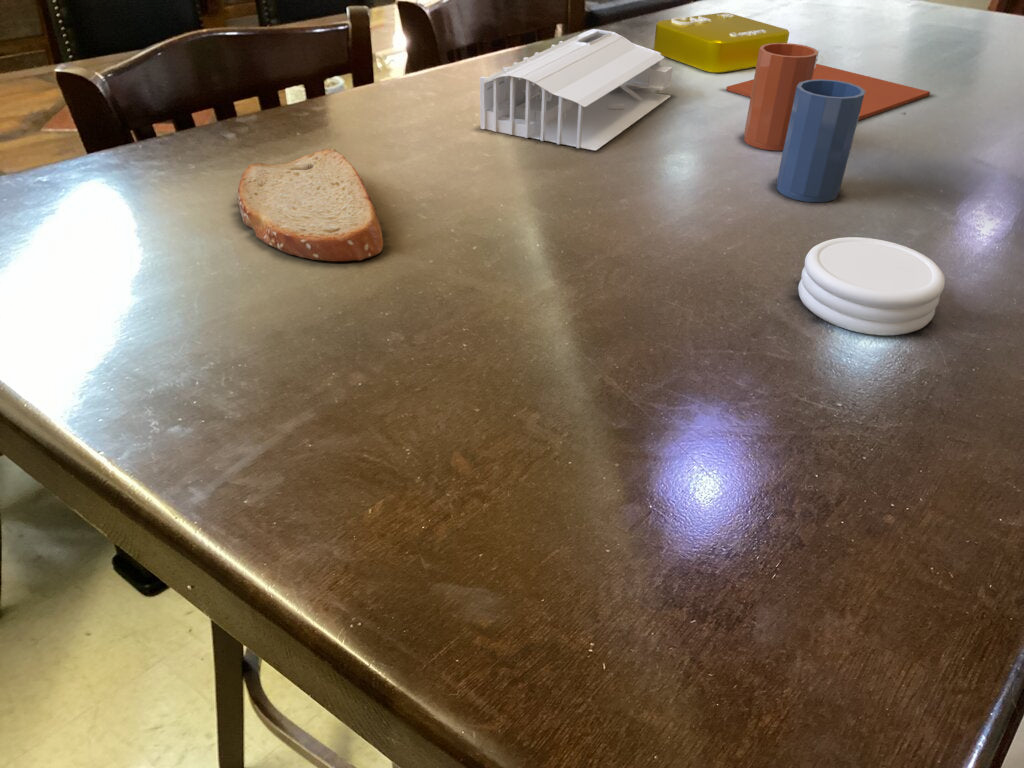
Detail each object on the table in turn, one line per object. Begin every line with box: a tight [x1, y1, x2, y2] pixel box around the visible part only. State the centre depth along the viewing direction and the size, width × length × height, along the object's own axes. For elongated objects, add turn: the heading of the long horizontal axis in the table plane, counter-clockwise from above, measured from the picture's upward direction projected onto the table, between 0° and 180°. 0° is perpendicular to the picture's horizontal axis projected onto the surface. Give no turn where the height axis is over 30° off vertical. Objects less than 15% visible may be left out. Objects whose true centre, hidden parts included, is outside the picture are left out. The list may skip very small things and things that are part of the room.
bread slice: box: [237, 148, 384, 262], centre depth 75 cm, size 18×18×4 cm
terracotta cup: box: [743, 42, 820, 152], centre depth 90 cm, size 6×6×10 cm
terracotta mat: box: [725, 63, 931, 121], centre depth 109 cm, size 18×20×1 cm
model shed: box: [479, 28, 674, 151], centre depth 99 cm, size 25×15×7 cm, turn 151°
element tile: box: [653, 12, 790, 74], centre depth 122 cm, size 15×15×5 cm
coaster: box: [797, 236, 946, 336], centre depth 62 cm, size 10×10×4 cm
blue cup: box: [775, 79, 866, 203], centre depth 79 cm, size 6×6×10 cm
